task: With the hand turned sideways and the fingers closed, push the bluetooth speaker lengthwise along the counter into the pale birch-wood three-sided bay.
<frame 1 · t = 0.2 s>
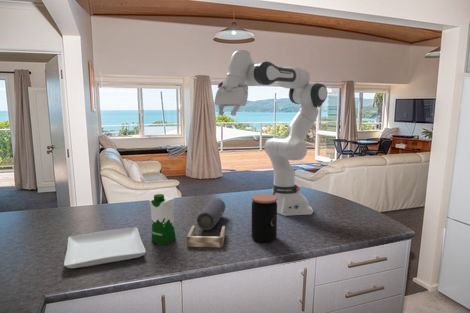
hand: (226, 115, 145), 52 cm above the worktop, tool tilted 20°, fingers open, 8 cm apart
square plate: (105, 252, 127), on the worktop
birch bay: (206, 240, 137), on the worktop
bluetooth speaker: (212, 224, 155), on the worktop
coffee jar: (263, 238, 138), on the worktop
milk carton: (164, 240, 137), on the worktop
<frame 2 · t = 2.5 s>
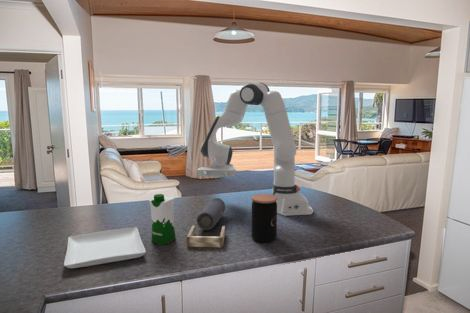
hand: (215, 175, 167), 20 cm above the worktop, tool horizontal, fingers open, 8 cm apart
nothing on the worktop moved.
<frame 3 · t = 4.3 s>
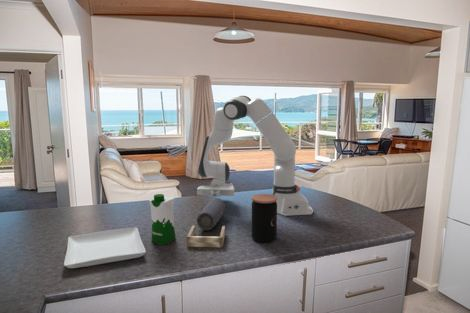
hand: (214, 194, 169), 10 cm above the worktop, tool horizontal, fingers closed
nothing on the worktop moved.
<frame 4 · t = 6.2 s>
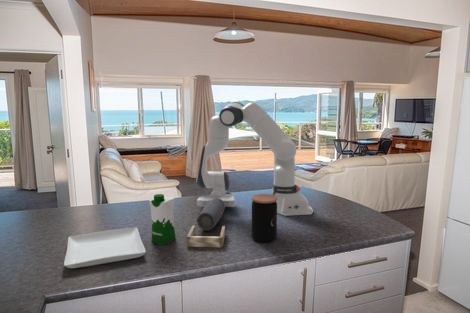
hand: (214, 206, 166), 5 cm above the worktop, tool horizontal, fingers closed
bluetooth speaker: (212, 224, 155), on the worktop, touching gripper
everything else where it was.
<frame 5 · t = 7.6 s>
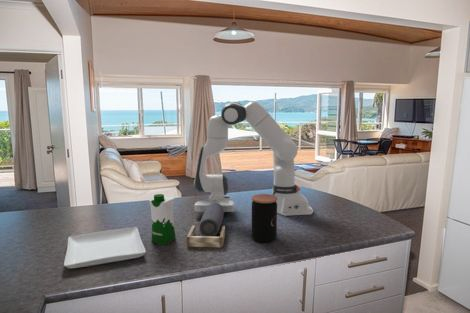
hand: (212, 211, 158), 5 cm above the worktop, tool horizontal, fingers closed, pressing on bluetooth speaker
bluetooth speaker: (212, 230, 147), on the worktop, touching gripper
everything else where it was.
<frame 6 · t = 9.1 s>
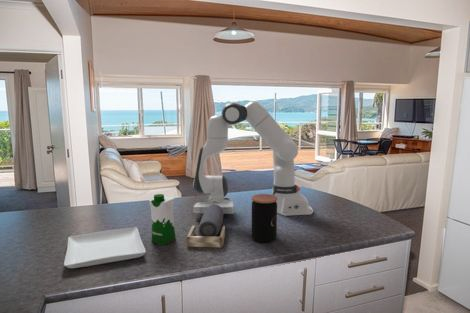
hand: (212, 213, 155), 5 cm above the worktop, tool horizontal, fingers closed
bluetooth speaker: (212, 233, 145), on the worktop
everything else where it was.
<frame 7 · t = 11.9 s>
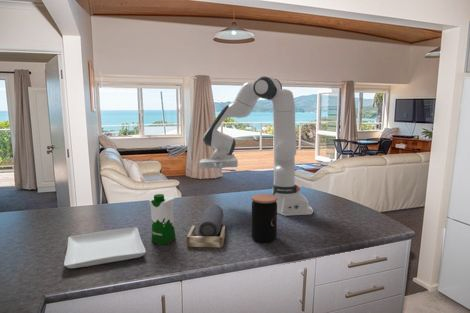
hand: (218, 167, 165), 25 cm above the worktop, tool horizontal, fingers closed
nothing on the worktop moved.
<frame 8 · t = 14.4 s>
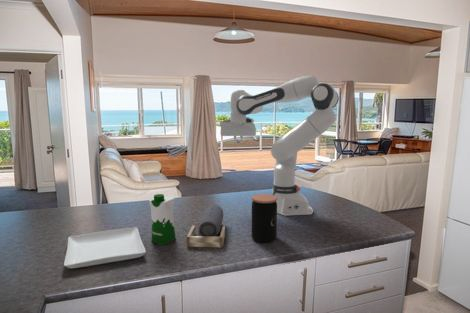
hand: (238, 143, 186), 34 cm above the worktop, tool pointing down, fingers closed
nothing on the worktop moved.
at the end: bluetooth speaker inside the target area (4.2 cm from its centre), on the worktop; bluetooth speaker tilted 0° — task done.
